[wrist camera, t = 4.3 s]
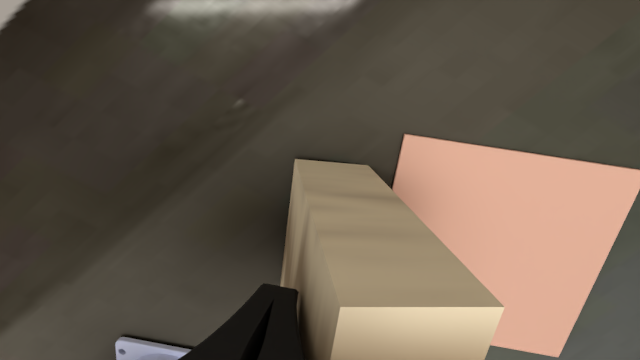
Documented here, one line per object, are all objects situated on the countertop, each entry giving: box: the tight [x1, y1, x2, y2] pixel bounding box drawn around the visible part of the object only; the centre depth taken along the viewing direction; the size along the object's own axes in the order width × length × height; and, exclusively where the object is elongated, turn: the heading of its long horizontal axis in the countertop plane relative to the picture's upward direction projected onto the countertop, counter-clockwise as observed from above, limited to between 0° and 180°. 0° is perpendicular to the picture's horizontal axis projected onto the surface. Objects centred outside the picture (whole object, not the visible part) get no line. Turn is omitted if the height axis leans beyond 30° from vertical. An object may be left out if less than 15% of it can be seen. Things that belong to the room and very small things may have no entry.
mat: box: [392, 134, 640, 357], centre depth 19 cm, size 12×12×1 cm
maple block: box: [280, 159, 505, 360], centre depth 14 cm, size 8×4×11 cm, turn 172°
